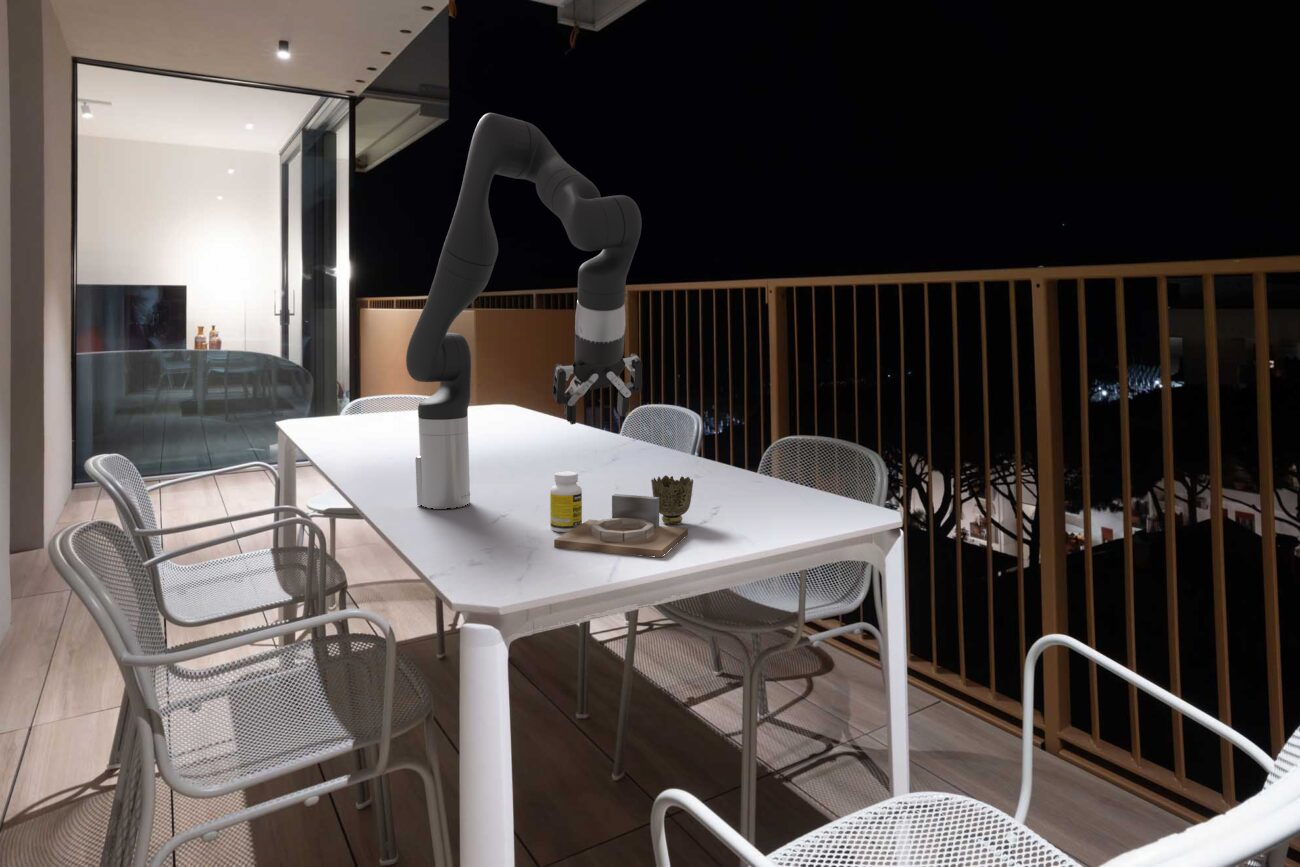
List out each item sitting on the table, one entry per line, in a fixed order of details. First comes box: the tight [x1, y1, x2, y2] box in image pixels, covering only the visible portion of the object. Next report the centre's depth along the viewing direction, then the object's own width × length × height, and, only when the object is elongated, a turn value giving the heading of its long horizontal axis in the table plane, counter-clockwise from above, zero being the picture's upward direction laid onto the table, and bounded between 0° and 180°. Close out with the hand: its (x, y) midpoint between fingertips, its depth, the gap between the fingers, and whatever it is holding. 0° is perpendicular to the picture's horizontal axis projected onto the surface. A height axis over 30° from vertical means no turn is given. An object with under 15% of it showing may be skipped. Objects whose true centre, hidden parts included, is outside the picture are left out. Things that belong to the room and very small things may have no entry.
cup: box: [650, 474, 694, 526], centre depth 145 cm, size 8×7×8 cm
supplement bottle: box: [549, 470, 583, 533], centre depth 140 cm, size 5×5×10 cm
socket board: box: [553, 493, 689, 558], centre depth 133 cm, size 18×14×6 cm
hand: (596, 417), depth 133 cm, fingers open, 8 cm apart
